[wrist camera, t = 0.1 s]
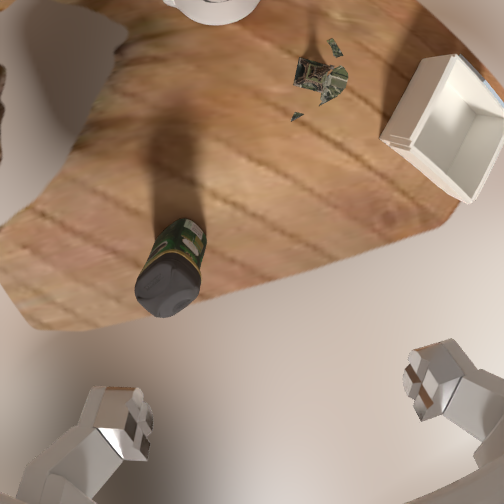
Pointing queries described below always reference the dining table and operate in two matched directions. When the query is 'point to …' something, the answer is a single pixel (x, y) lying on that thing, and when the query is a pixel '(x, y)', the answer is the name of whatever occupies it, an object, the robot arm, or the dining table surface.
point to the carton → (448, 126)
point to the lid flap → (483, 80)
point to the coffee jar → (172, 270)
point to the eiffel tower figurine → (321, 77)
